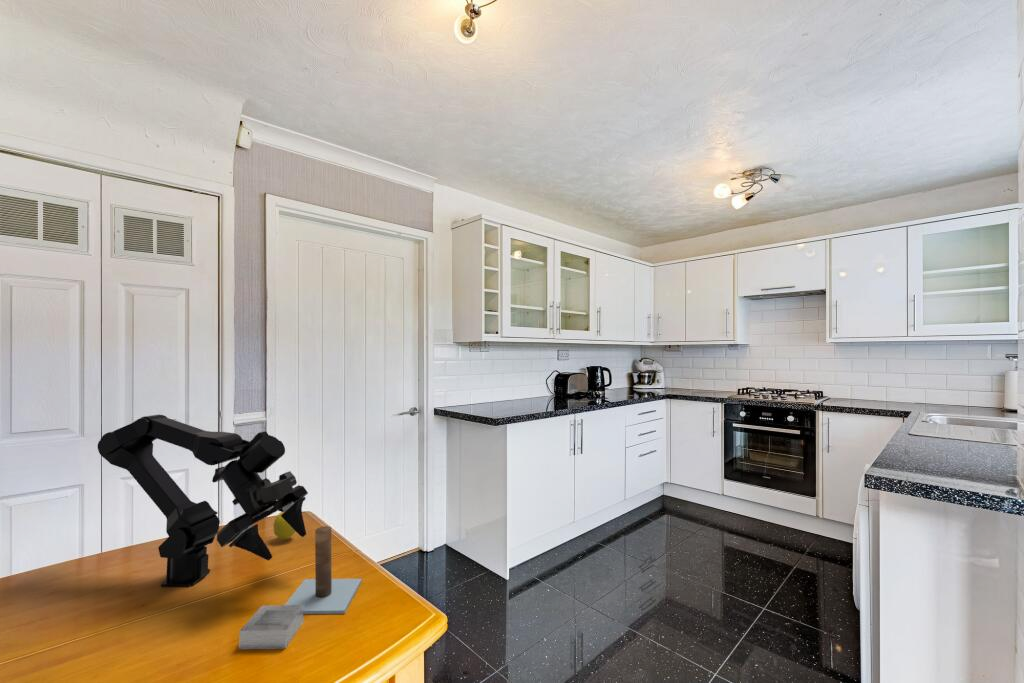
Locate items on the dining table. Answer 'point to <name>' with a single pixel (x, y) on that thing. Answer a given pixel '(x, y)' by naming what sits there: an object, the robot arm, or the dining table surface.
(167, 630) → the dining table surface
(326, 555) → the walnut rod
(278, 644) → the collar
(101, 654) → the dining table surface
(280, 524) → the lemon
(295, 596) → the rubber mat
